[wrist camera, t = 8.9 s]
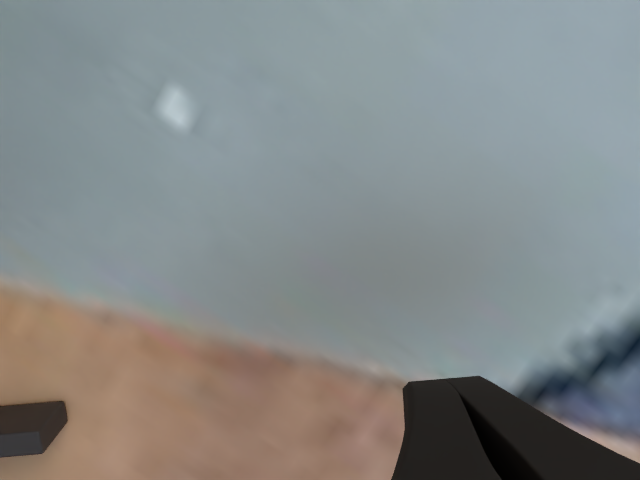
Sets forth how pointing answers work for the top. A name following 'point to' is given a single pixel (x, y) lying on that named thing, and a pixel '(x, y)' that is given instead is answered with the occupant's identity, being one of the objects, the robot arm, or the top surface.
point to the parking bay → (30, 427)
